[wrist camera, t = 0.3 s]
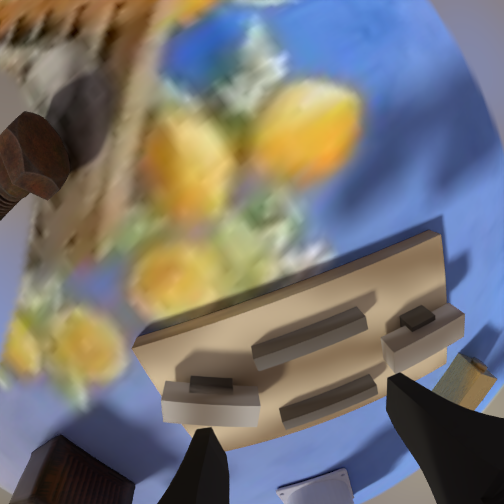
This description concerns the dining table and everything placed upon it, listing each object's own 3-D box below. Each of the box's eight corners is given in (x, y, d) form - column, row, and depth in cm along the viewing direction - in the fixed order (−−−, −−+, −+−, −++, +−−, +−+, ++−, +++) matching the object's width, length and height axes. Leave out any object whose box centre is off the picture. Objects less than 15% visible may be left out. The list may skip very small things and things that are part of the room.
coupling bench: (437, 354, 23) (463, 380, 19) (206, 442, 23) (205, 480, 19) (428, 229, 20) (466, 244, 16) (136, 337, 20) (120, 373, 16)
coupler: (477, 356, 24) (499, 375, 20) (441, 406, 26) (458, 428, 22) (459, 348, 24) (483, 370, 20) (420, 403, 25) (438, 428, 21)
